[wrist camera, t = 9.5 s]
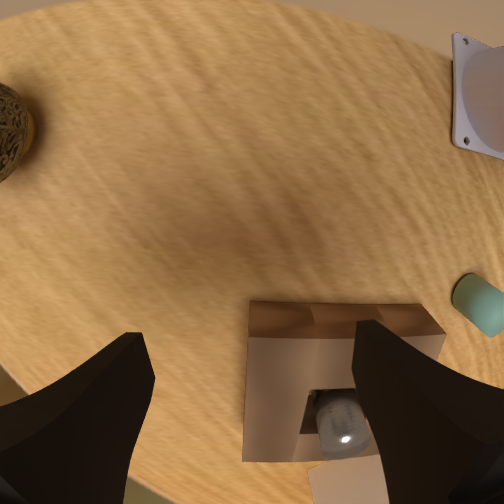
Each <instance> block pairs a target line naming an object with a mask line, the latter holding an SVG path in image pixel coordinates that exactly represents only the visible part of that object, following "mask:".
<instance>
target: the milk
mask: <svg viewBox="0 0 504 504" xmlns="http://www.w3.org/2000/svg"><path fill="white" fill-rule="evenodd" d="M307 471H308V476H309V481H310V486H311V491H312V496H313V501H314V504H389V498H388V492H387V487H386V481H385V476H384V471H383V467H382V462H381V458H380V454H379V455H372V456H365V457H357V458H348V459H343V460H330V461H328V462H326V463H323V464H321V465H319V466H316V467H314V468H311V469H309V470H307Z"/></svg>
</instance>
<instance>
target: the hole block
mask: <svg viewBox="0 0 504 504" xmlns="http://www.w3.org/2000/svg"><path fill="white" fill-rule="evenodd" d="M371 319H374V320H376V321H377V322H379V323H380V324H382V325H383V326H385V327H386V328H388V329H389V330H390V331H392V332H393V333H394V334H396V335H397V336H399V337H400V338H401V339H403V340H404V341H406V342H407V343H409V344H410V345H411V346H413V347H414V348H416V349H417V350H419V351H421V352H422V353H424V354H425V355H427V356H428V357H430V358H432V359H434V360H435V361H437V358H438V356H439V353H440V351H441V348H442V346H443V343H444V341H445V338H446V335H447V334H446V332H445V331H444V330H443V329H442V328H441V327H440V325H439V324H438V323H437V322H436V321H435V319H434V318H433V317H432V316H431V315H430V314H429V313H428V311H427V310H426V309H425V308H424V307H423V306H422V305H421V304H319V303H285V302H260V301H250V311H249V330H248V350H247V369H246V388H245V407H244V427H243V452H242V462H308V461H325V460H332V459H328V458H326V457H325V456H323V454H322V451H321V445H320V439H319V434H318V428H317V423H316V418H315V412H314V407H313V402H312V396H311V395H309V390H310V389H341V388H355V391H356V387H355V383H354V378H353V374H352V370H351V366H352V358H353V350H354V342H355V333H356V323H357V321H363V320H371ZM356 394H357V391H356ZM357 397H358V394H357ZM358 400H359V403H360V406H361V409H362V412H363V415H364V418H365V421H366V424H367V427H368V430H369V433H370V436H371V443H370V445H369V447H368V448H367V449H366V450H365V451H363V452H362V453H360V454H358V455H356V456H354V457H351V458H357V457H365V456H372V455H379V450H378V447H377V444H376V441H375V438H374V436H373V433H372V430H371V428H370V425H369V423H368V420H367V417H366V415H365V412H364V410H363V407H362V404H361V402H360V399H359V397H358Z"/></svg>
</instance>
